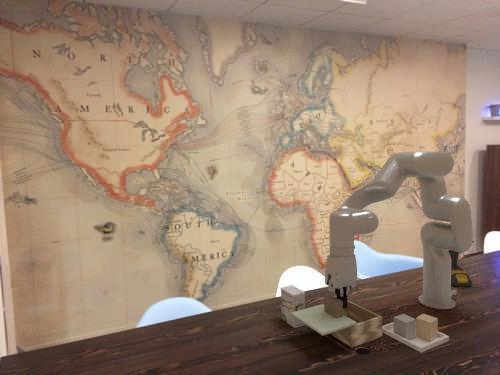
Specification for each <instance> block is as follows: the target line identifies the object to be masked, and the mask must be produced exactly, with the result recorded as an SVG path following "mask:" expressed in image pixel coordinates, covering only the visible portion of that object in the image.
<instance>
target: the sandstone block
mask: <svg viewBox="0 0 500 375" xmlns="http://www.w3.org/2000/svg"><path fill="white" fill-rule="evenodd" d="M415 319H416V336H417V337H419V338H422V339H424V340H427V341H430V342H431V341H432V340H434V339H435V338H437V331H438V326H439V325H438V323H439V322H438V321H439V319H438V317H436V316H435V317H434V316H432V315H429V314H427V313H421V314H420V315H418V316H417V317H415ZM438 332H439V331H438Z"/></svg>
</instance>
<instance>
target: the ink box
mask: <svg viewBox="0 0 500 375" xmlns="http://www.w3.org/2000/svg"><path fill="white" fill-rule="evenodd" d="M280 300H281V301H280V302H281V304H280V306H281V307H280V308H281V309H280V310H281V312H280V313H281V314H280V315H281V316H280V318H281V319H282V320H283V322H285V323H286V324H288V325H289V326H291V327H293V328H294V329H297V328H301V327H303V326H306V324H304V323H303V322H301V321H300V320H298V319H297V318H295V317H294V316H292V315H291V313H292V312H295V311H299V310H303V309H306V292H305V291H303V290H302V289H300V288H299V287H297V286H296V285H295V286H294V285H293V284H291V285H287V286H284V287H280Z"/></svg>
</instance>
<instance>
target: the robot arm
mask: <svg viewBox="0 0 500 375" xmlns="http://www.w3.org/2000/svg"><path fill="white" fill-rule="evenodd" d="M454 163H455V162H454V158H453V156H452V155H451V154H450V153H449V152H447V151H443V150H442V151H438V150H437V151H402V152H396V153H393V154H391V155H390V156H389V158H388V159H386V161H385V163H384V164H383V165H382V167H381V168H380V170H379V171H378V173H376V175H375V176H374V177H373V179H372V180H371V181H370V182H368V183H366V184H365V185H363V186H362V187H360V188H358V189H357V190H356V191H354V192H352V193H350V195H349V196H348V197H347V198H346V199H345V201H344V202H343V203H342V205H341V206H340V207H339V209H338V211H333V212H331V213H330V214H329V216H328V217H329V218H328V220H329V221H328V222H329V223H328V224H329V225H328V227H329V232H328V233H329V254H328V255H327V257H326V262H325V271H324V284H325V285H326V286H327V291H328V292H329V293H334V294H335V295H336V298H337V299H339V300H342V301H343V309H345V308H347V300H348V296H349V295H350V291H351V289H353V288H355V287H356V285H357V284H356V283H357V282H358V265H357V264H358V263H357V258H356V254H355V249H356V245H355V235H358V234H359V235H368V234H372V233H374V232H375V231H376V230H377V228H378V227H379V218H378V215H377V214H376V213H374V212H373V211H370V210H368V209H367V210H366V209H364V208H366V207H368V206H370V205H373V204H375V203H376V204H377V203H380V202H383V201H386V200H389V199H391V198H393V197H394V196H395V195H396V193H397V192H398V190H399V189H400V187H401V186H402V185H403V183H404V182H405V180H406V179H407V178H415V179H416V180H417V182H418V183H419V184H418V185H419V187H420V188H419V189H420V195H421V196H420V197H421V207H422V208H421V209H422V213H423V215H424V216H425V217H426V218H427V219H430V220H433V221H428V222H425V223H424V224H423V225H422V226H421V229H420V239H421V240H420V241H421V245H422V251H423V252H422V257H423V260H422V261H423V262H422V265H423V266H422V294H420V295H419V296H418V298H417V299H418V302H419V303H420V304H422V305H423V306H425V307H427V308H431V309H436V310H452V309H454V308H456V302H455V300H454V299H452V296H455V295H457V290H456V289H452V285H451V256H450V254H449V252H448V250H452V251H457V252H461V253H466V252H468V251H469V250H470V249H471V248H472V246H473V243H472V242H473V241H474V240H473V239H474V234H473V233H474V232H473V231H474V230H473V220H472V219H473V218H472V209H471V205H470V202H469V201H468V200H467V199H466V198H465V197H462V196H459V195H451V194H450V195H449V194H448V192H447V186H446V180H445V177H446V176H448V175H449V174H450V173H451V172H452V170H453V169H454ZM434 220H435V221H434Z"/></svg>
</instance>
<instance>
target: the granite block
mask: <svg viewBox="0 0 500 375" xmlns="http://www.w3.org/2000/svg"><path fill="white" fill-rule="evenodd" d="M393 322H394V333H395V334H397V335H399V336H401V337H403V338H405V339H407V340H411V339H414V338H416V318H413V317H412V316H409V315H407V314H405V313H402V314H399V315H395V316H394V317H393Z"/></svg>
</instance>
